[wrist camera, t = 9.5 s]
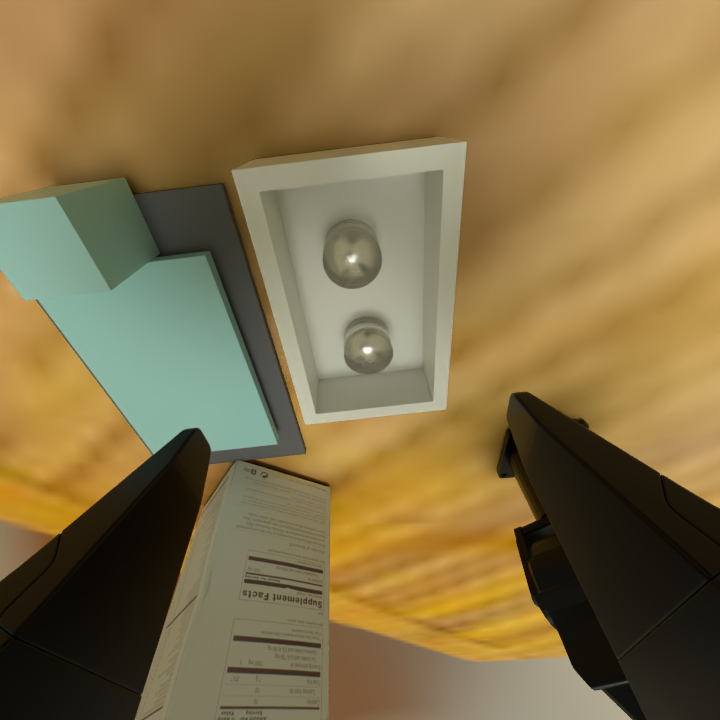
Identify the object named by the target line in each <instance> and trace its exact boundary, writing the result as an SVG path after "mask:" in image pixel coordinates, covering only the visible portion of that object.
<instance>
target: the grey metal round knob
mask: <svg viewBox="0 0 720 720" xmlns="http://www.w3.org/2000/svg"><path fill="white" fill-rule="evenodd" d="M322 261H323V267H324V270H325V273H326V274H327V276H328V277H329V279H330V280H331V281H332V282H334V283H335V284H336V285H338V286H340V287H343V288H347V289H357V288H362V287H364V286H366V285H368V284H370V283H371V282H372V281H373V280H374V279H375V278H376V277H377V275H378V274H379V272H380V269H381V266H382V253H381V250H380V247H379V243H378V240H377V237H376V235H375V233H374V231H373V230H372V229H371V228H370V227H369V226H368V225H367V224H366V223H364V222H362V221H359V220H355V219H347V220H343V221H340V222H338V223H337V224H335V225H334V226H333V227H332V228H331V229H330V230H329V232H328V233H327V235H326V238H325V242H324V249H323V260H322Z"/></svg>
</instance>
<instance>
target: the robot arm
mask: <svg viewBox="0 0 720 720" xmlns="http://www.w3.org/2000/svg"><path fill="white" fill-rule="evenodd" d="M507 421H508V424H509V427H510V429H509V430H508V431H507V433H506V437H505V441H504V446H503V450H502V454H501V458H500V462H499V466H498V470H497V474H498V476H499V477H500V478H510V477H515V478H516V480H517V482H518V484H519V486H520V488H521V490H522V492H523V494H524V496H525V498H526V500H527V502H528V504H529V506H530V508H531V511H532V513H533V515H534V517H535V519H536V521H535V522H533V523H530V524H528V525H526V526H523V527H518V528H516V529H514V532H515V536H516V543H517V547H518V550H519V554H520V558H521V561H522V565H523V569H524V572H525V576H526V579H527V583H528V587H529V590H530V593H531V597H532V600H533V602H534V604H535V605H536V606H538V607H539V608H540V609H541V611H542V613H543V614H544V616H545V617H546V619H547V620H548V621H549V622H550V624H551V625H552V626H553V627H554V628H555V629H556V630H557V631H558V633H559V635H560V638H561V640H562V642H563V645H564V647H565V649H566V652H567V654H568V657H569V659H570V661H571V664H572V666H573V668H574V669H575V671H576V672H577V673H578V674H579V675H580V676H581V678H582V679H583V680H584V681H585V682H586V683H587V684H588V685H589V687H591V688H592V689H593V690H600V689H601V690H602V691H604V692H605V693H606V694H607V695H608V696H609V697H610V698H611V699H612V700H613V701H614V702H615V703H616V704H617V705H618V706H619V707H620V708H621V709H622V710H623V711H624V712H625V713H626V714H627V715H628V716H629V717H630V718H631V719H632V720H720V508H718V507H716V506H714V505H712V504H711V503H709V502H707V501H705V500H704V499H702V498H700V497H699V496H697V495H695V494H694V493H692V492H690V491H689V490H687V489H685V488H684V487H682V486H680V485H679V484H677V483H675V482H674V481H672V480H670V479H669V478H667V477H666V476H664V475H661V476H660V473H659V472H657V471H656V470H654V469H652V468H651V467H649V466H648V465H646V464H644V463H643V462H641V461H639V460H638V459H636V458H634V457H633V456H631V455H630V454H628V453H626V452H625V451H623V450H621V449H620V448H618V447H617V446H615V445H613V444H612V443H610V442H608V441H607V440H605V439H604V438H602V437H600V436H599V435H597V434H595V433H594V432H592V431H591V430H589V429H588V428H589V425H588V424H587V423H586V421H584V420H578V421H574V420H573V419H571V418H569V417H568V416H566V415H565V414H563V413H561V412H560V411H558V410H556V409H555V408H553V407H552V406H550V405H548V404H547V403H545V402H543V401H542V400H540V399H539V398H537V397H535V396H534V395H532V394H530V393H529V392H516V393H512V394H511V396H510V400H509V405H508V410H507ZM210 456H211V447H210V445H209V443H208V441H207V439H206V438H205V436H204V434H203V432H202V431H201V429H199V428H189V429H184V430H182V431H181V432H180V433H179V434H177V435H176V436H175V437H174V438H173V439H172V440H170V441H169V442H168V443H167V444H166V445H164V446H163V447H162V448H161V449H160V450H158V451H157V452H156V453H155V454H154V455H152V456H151V457H150V458H149V459H148V460H146V461H145V462H144V463H143V464H142V465H141V466H139V467H138V468H137V469H136V470H135V471H133V472H132V473H131V474H130V475H129V476H127V477H126V478H125V479H124V480H123V481H121V482H120V483H119V484H118V485H117V486H115V487H114V488H113V489H112V490H111V491H110V492H108V493H107V494H106V495H105V496H104V497H102V498H101V499H100V500H99V501H98V502H96V503H95V504H94V505H93V506H92V507H90V508H89V509H88V510H87V511H86V512H84V513H83V514H82V515H81V516H80V517H78V518H77V519H76V520H75V521H74V522H73V523H71V524H70V525H69V526H68V527H67V528H65V529H64V530H63V531H62V534H58V535H57V536H56V537H55V538H53V539H52V540H51V541H50V542H49V543H47V544H46V545H45V546H44V547H43V548H41V549H40V550H39V551H38V552H37V553H35V554H34V555H33V556H32V557H30V558H29V559H28V560H27V561H26V562H24V563H23V564H22V565H21V566H20V567H18V568H17V569H16V570H14V571H13V572H12V573H10V574H9V575H8V576H7V577H5V578H4V579H3V580H1V581H0V720H135V717H136V714H137V711H138V707H139V704H140V701H141V698H142V696H141V694H142V693H143V690H144V687H145V684H146V681H147V677H148V674H149V671H150V668H151V664H152V661H153V658H154V655H155V651H156V648H157V645H158V642H159V639H160V635H161V632H162V629H163V625H164V622H165V619H166V616H167V613H168V609H169V606H170V603H171V600H172V596H173V593H174V589H175V587H176V583H177V580H178V577H179V574H180V570H181V567H182V564H183V561H184V557H185V554H186V551H187V548H188V544H189V541H190V538H191V535H192V531H193V528H194V525H195V522H196V518H197V515H198V512H199V508H200V505H201V501H202V497H203V492H204V487H205V482H206V477H207V471H208V466H209V461H210Z"/></svg>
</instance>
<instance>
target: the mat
mask: <svg viewBox="0 0 720 720" xmlns="http://www.w3.org/2000/svg"><path fill="white" fill-rule="evenodd" d="M133 196H134V198H135V200H136V202H137V204H138V206H139V209H140V211H141V213H142V215H143V217H144V219H145V222H146V224H147V226H148V228H149V230H150V232H151V234H152V237H153V239H154V241H155V243H156V245H157V247H158V250H159V252H160V254H159V255H157V256H156V257H162V256H170V255H179V254H187V253H195V252H204V251H210V253H211V256H212V258H213V261H214V264H215V266H216V269H217V272H218V274H219V277H220V280H221V282H222V285H223V288H224V290H225V293H226V296H227V298H228V301H229V304H230V306H231V309H232V312H233V315H234V317H235V320H236V323H237V325H238V328H239V331H240V333H241V336H242V339H243V341H244V344H245V347H246V349H247V352H248V355H249V357H250V360H251V363H252V365H253V368H254V371H255V374H256V376H257V379H258V382H259V384H260V387H261V390H262V392H263V395H264V398H265V400H266V403H267V406H268V408H269V411H270V414H271V416H272V419H273V422H274V425H275V427H276V430H277V433H278V435H279V440H278V444H276V445H267V446H257V447H248V448H239V449H230V450H221V451H211V456H210V461H209V464H215V463H225V462H234V461H236V460H241V461H243V460H253V459H262V458H271V457H281V456H290V455H299V454H306V448H305V445H304V441H303V438H302V435H301V432H300V428H299V425H298V422H297V419H296V415H295V412H294V409H293V406H292V402H291V399H290V396H289V393H288V390H287V386H286V383H285V380H284V377H283V373H282V370H281V367H280V364H279V360H278V357H277V354H276V351H275V347H274V344H273V341H272V338H271V335H270V331H269V328H268V325H267V322H266V318H265V315H264V312H263V309H262V305H261V302H260V299H259V296H258V292H257V289H256V286H255V283H254V280H253V276H252V273H251V270H250V267H249V263H248V260H247V257H246V254H245V250H244V247H243V244H242V241H241V237H240V234H239V231H238V228H237V225H236V221H235V218H234V215H233V212H232V208H231V205H230V202H229V199H228V195H227V192H226V189H225V186H224V183H221V184H213V185H205V186H196V187H188V188H180V189H172V190H164V191H156V192H147V193H139V194H133ZM36 301H37V302H38V304H39V305H40V306H41V308H42V309H43V310H44V311H45V313H46V314H47V315H48V317H49V318H50V319H51V321H52V322H53V323H54V325H55V326H56V327H57V329H58V330H59V331H60V333H61V334H62V335H63V337H64V338H65V339H66V341H67V342H68V343H69V345H70V346H71V347H72V349H73V350H74V351H75V353H76V354H77V355H78V357H79V358H80V359H81V361H82V362H83V363H84V365H85V366H86V367H87V369H88V370H89V371H90V373H91V374H92V375H93V376H94V374H93V373H92V372H91V370H90V369H89V368H88V366H87V365H86V364H85V362H84V361H83V360H82V358H81V357H80V356H79V354H78V353H77V352H76V350H75V349H74V348H73V346H72V345H71V344H70V342H69V341H68V340H67V338H66V337H65V336H64V334H63V333H62V332H61V330H60V329H59V328H58V326H57V325H56V324H55V322H54V321H53V320H52V318H51V317H50V316H49V314H48V313H47V312H46V310H45V309H44V308H43V306H42V305H41V304H40V302H39V301H38V300H37V299H36ZM94 378H95V379H96V380H97V378H96V377H95V376H94ZM97 382H98V383H99V384H100V382H99V381H98V380H97ZM100 386H101V387H102V388H103V386H102V385H101V384H100ZM103 390H104V391H105V392H106V390H105V389H104V388H103ZM106 394H107V395H108V396H109V394H108V393H107V392H106ZM109 398H110V399H111V400H112V398H111V397H110V396H109ZM112 402H113V403H114V404H115V402H114V401H113V400H112ZM115 406H116V407H117V408H118V406H117V405H116V404H115ZM118 410H119V411H120V412H121V410H120V409H119V408H118ZM121 414H122V415H123V416H124V414H123V413H122V412H121ZM124 418H125V419H126V420H127V418H126V417H125V416H124ZM127 422H128V423H129V424H130V422H129V421H128V420H127ZM130 426H131V427H132V428H133V426H132V425H131V424H130ZM133 430H134V431H135V432H136V430H135V429H134V428H133ZM136 434H137V435H138V436H139V434H138V433H137V432H136ZM139 438H140V439H141V440H142V438H141V437H140V436H139ZM142 442H143V443H144V444H145V442H144V441H143V440H142ZM145 445H146V444H145ZM146 447H147V448H148V446H147V445H146ZM148 449H149V448H148ZM149 451H150V452H151V450H150V449H149ZM151 453H152V452H151ZM152 455H154V454H153V453H152Z"/></svg>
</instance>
